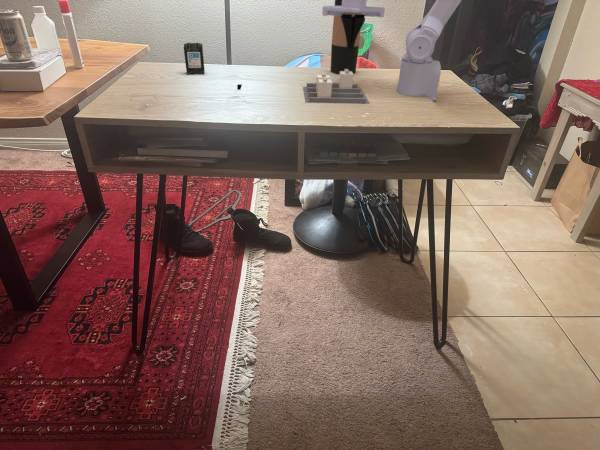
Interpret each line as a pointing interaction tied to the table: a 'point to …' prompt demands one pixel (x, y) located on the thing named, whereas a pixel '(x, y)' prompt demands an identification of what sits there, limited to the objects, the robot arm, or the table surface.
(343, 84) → the tab
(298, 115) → the table surface
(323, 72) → the tab middle
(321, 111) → the table surface
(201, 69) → the ink cartridge
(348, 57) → the travel mug
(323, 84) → the tab
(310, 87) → the switch bank
